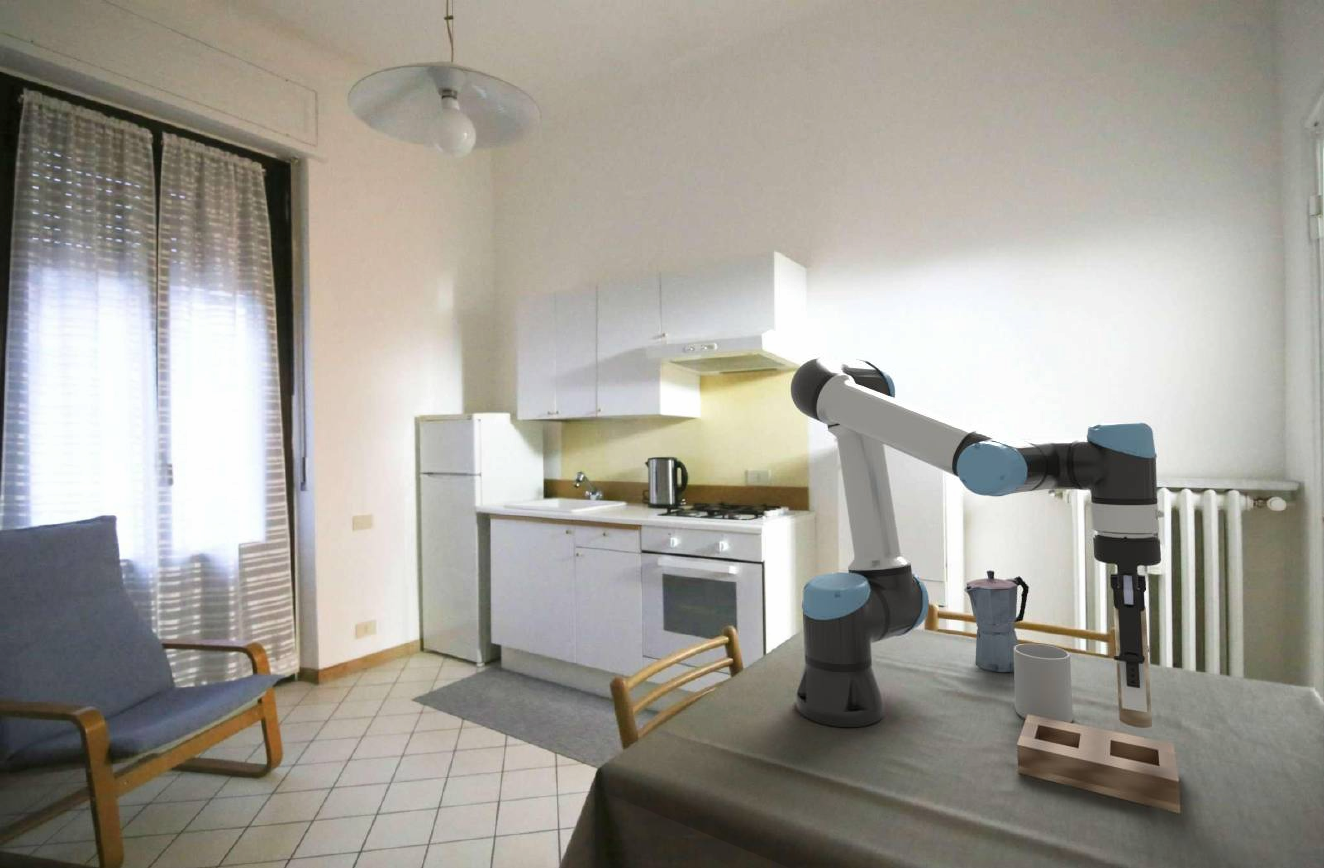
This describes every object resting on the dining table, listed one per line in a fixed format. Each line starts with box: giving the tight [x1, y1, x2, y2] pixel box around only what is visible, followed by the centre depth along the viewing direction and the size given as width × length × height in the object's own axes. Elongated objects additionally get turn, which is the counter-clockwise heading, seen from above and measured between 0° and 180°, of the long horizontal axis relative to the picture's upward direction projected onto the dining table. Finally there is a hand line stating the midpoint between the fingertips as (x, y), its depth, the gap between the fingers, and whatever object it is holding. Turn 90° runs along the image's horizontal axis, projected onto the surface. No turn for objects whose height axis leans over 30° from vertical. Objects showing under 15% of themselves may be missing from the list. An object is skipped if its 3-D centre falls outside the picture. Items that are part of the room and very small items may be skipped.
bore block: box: [1016, 714, 1181, 814], centre depth 90 cm, size 18×12×4 cm, turn 54°
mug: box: [1013, 643, 1074, 723], centre depth 111 cm, size 12×8×11 cm
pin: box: [1113, 606, 1153, 729], centre depth 87 cm, size 4×4×16 cm
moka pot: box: [964, 570, 1030, 673], centre depth 133 cm, size 10×15×20 cm, turn 107°
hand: (1134, 703), depth 87 cm, fingers closed on pin, 3 cm apart
